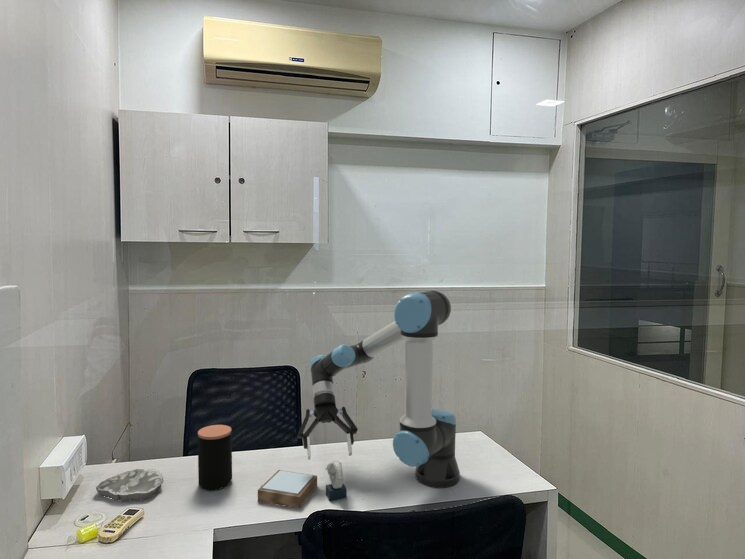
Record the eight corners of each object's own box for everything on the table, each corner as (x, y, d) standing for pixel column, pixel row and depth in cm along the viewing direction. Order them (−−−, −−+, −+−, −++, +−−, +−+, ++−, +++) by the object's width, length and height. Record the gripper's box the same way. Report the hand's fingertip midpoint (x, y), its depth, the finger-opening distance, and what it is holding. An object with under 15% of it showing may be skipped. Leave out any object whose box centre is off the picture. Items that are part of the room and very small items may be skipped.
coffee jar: (238, 483, 159) (237, 430, 158) (208, 495, 152) (207, 439, 150) (221, 472, 167) (221, 422, 165) (192, 483, 159) (191, 430, 158)
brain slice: (175, 478, 163) (175, 470, 162) (148, 505, 146) (148, 496, 146) (119, 476, 164) (119, 468, 164) (86, 502, 147) (86, 493, 147)
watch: (340, 488, 156) (340, 455, 156) (348, 500, 149) (348, 466, 148) (324, 491, 155) (324, 458, 154) (330, 504, 147) (330, 469, 146)
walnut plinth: (317, 486, 158) (317, 474, 157) (299, 508, 144) (299, 495, 144) (278, 480, 162) (278, 468, 161) (257, 501, 148) (257, 488, 148)
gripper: (356, 399, 176) (365, 456, 163) (288, 404, 170) (291, 463, 157) (360, 389, 170) (369, 448, 157) (289, 393, 165) (292, 455, 151)
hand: (330, 456), depth 157 cm, fingers open, 13 cm apart
